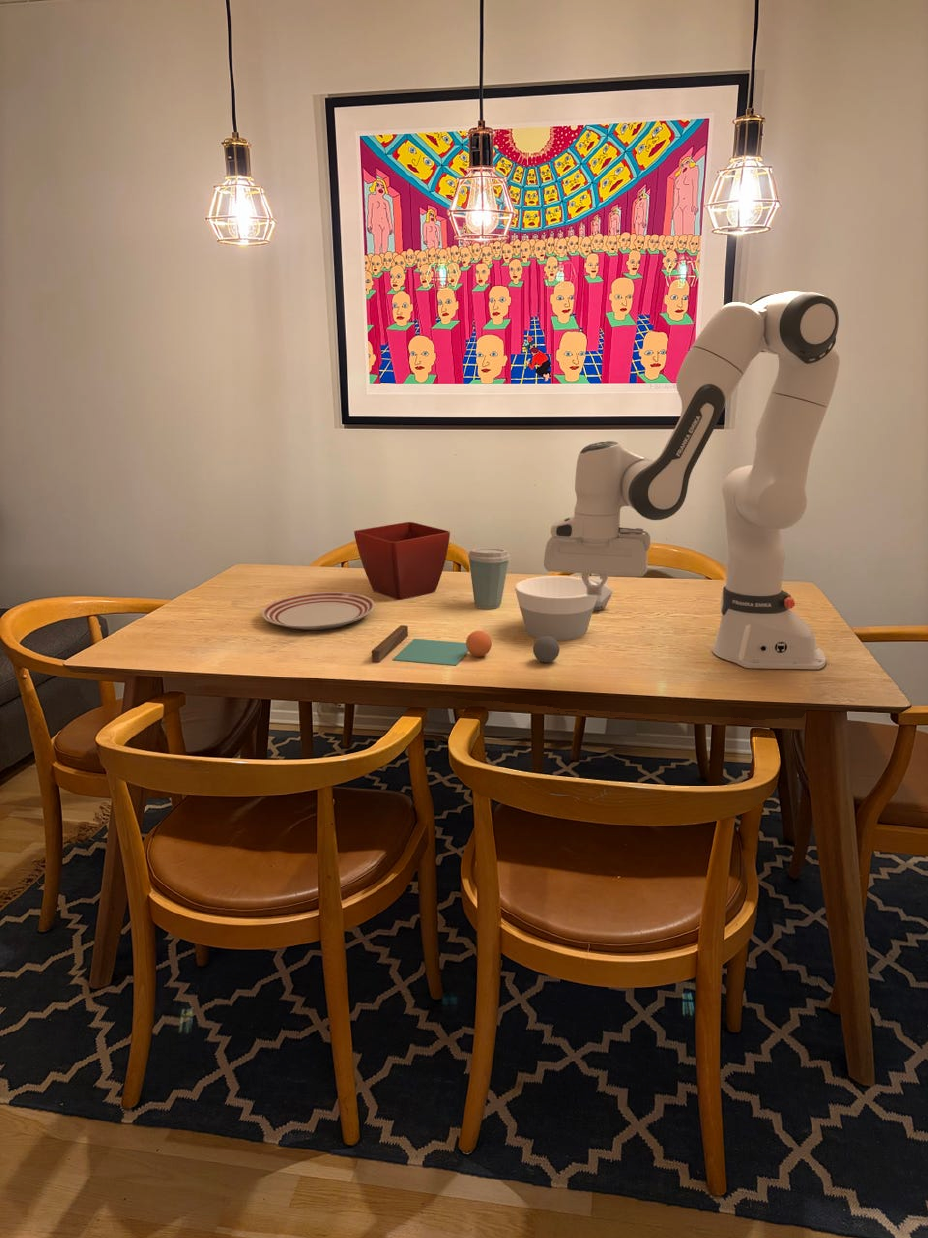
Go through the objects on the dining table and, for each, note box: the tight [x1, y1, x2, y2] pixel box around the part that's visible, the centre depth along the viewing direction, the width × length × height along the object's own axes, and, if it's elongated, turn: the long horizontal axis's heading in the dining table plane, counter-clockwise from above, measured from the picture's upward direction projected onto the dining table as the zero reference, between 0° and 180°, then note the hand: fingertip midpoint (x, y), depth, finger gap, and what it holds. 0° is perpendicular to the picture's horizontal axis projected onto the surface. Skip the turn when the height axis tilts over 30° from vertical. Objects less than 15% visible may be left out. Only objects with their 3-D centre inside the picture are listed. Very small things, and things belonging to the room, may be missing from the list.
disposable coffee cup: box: [467, 547, 511, 610], centre depth 213 cm, size 11×11×15 cm
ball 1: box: [465, 630, 492, 658], centre depth 178 cm, size 6×6×6 cm
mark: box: [392, 638, 469, 667], centre depth 182 cm, size 14×14×1 cm
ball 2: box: [532, 636, 561, 663], centre depth 175 cm, size 6×6×6 cm
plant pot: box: [353, 521, 451, 600], centre depth 227 cm, size 19×19×17 cm
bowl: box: [514, 575, 597, 641], centre depth 194 cm, size 19×19×11 cm
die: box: [588, 576, 614, 611], centre depth 211 cm, size 8×9×10 cm
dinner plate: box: [261, 591, 376, 631], centre depth 206 cm, size 28×27×3 cm
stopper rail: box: [371, 624, 409, 663], centre depth 184 cm, size 2×18×2 cm, turn 165°
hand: (594, 594), depth 168 cm, fingers closed
